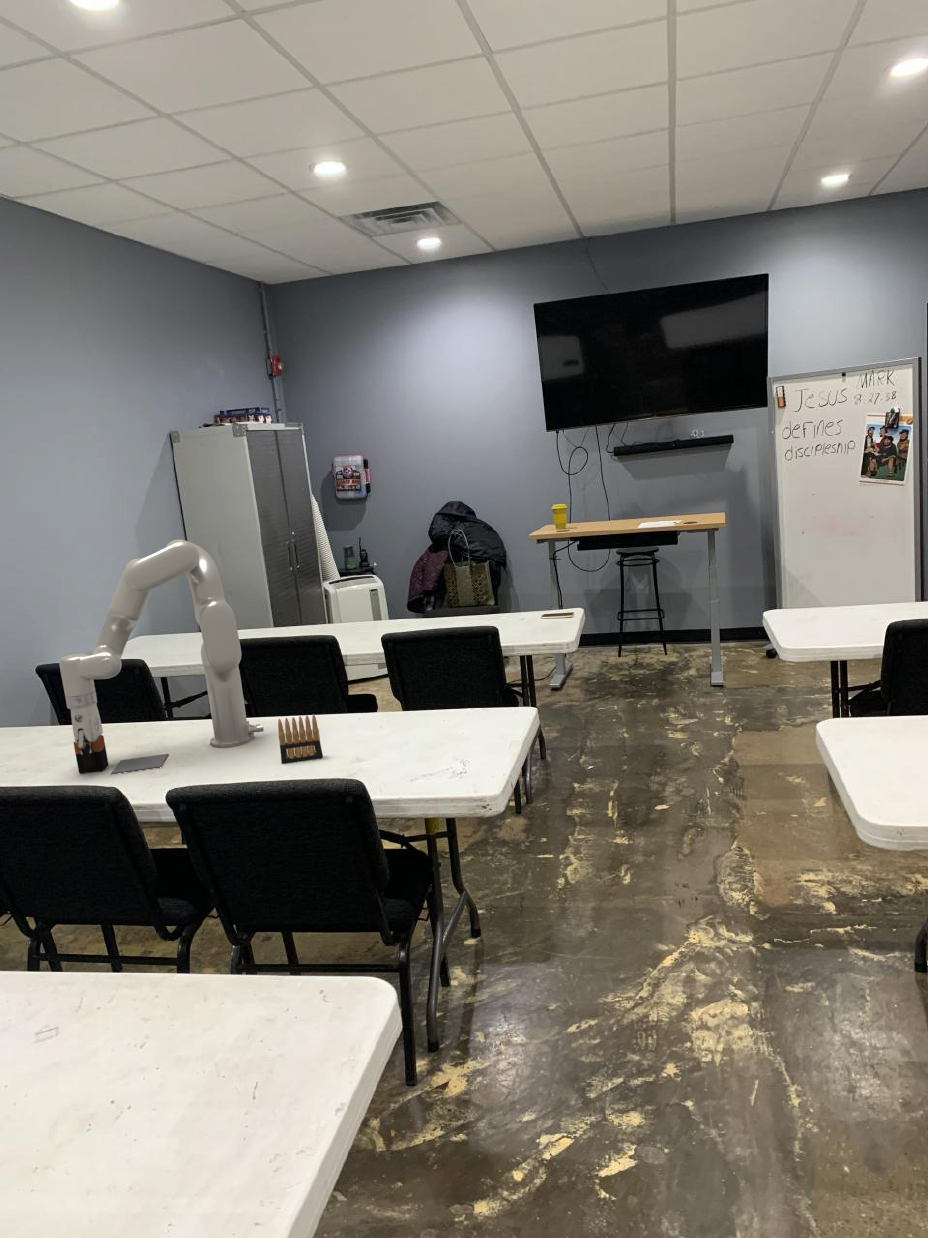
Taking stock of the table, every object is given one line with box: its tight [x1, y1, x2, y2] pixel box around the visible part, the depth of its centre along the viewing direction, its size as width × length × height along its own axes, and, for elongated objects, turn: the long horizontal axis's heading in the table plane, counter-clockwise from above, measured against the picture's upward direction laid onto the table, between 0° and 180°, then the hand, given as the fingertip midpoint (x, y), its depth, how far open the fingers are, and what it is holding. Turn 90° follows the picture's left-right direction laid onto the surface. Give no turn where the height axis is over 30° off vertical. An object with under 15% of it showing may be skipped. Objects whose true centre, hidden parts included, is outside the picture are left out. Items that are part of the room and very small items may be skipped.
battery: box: [73, 734, 110, 774], centre depth 235 cm, size 4×7×10 cm, turn 93°
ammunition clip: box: [277, 713, 324, 765], centre depth 226 cm, size 11×2×12 cm, turn 98°
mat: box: [110, 752, 170, 776], centre depth 236 cm, size 13×11×1 cm
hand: (92, 763), depth 236 cm, fingers closed on battery, 4 cm apart
